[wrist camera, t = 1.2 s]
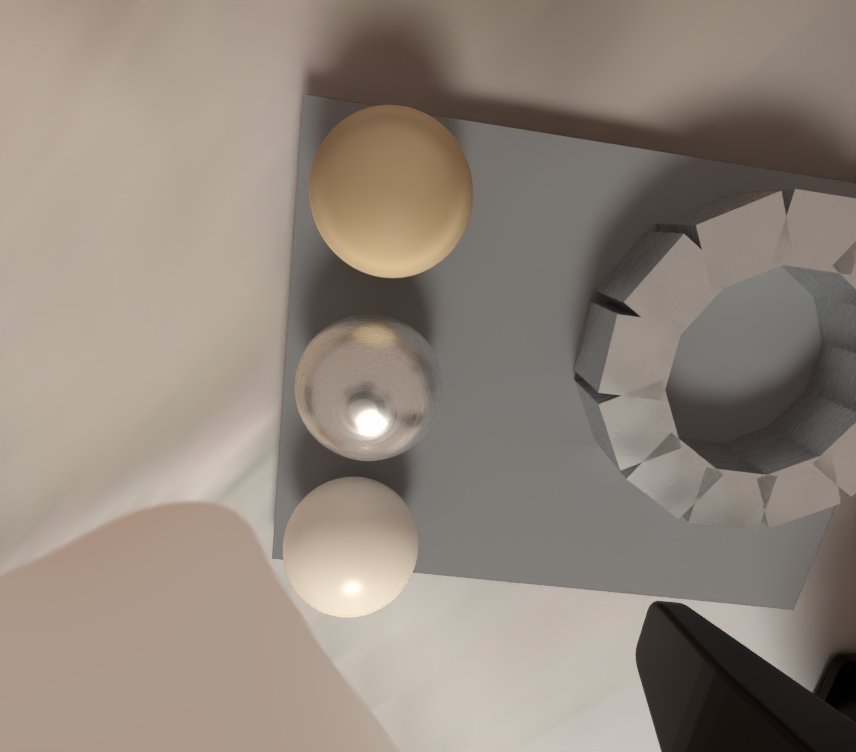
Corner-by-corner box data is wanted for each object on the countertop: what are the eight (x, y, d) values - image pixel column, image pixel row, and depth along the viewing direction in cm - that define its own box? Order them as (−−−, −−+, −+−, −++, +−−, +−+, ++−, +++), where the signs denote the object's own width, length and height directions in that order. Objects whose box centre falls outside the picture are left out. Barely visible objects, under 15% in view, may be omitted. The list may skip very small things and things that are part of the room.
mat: (774, 589, 23) (793, 609, 22) (279, 540, 21) (271, 558, 20) (924, 201, 18) (959, 199, 17) (310, 102, 17) (302, 94, 16)
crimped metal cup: (816, 503, 20) (870, 542, 18) (550, 473, 19) (569, 509, 17) (926, 221, 17) (1009, 222, 15) (618, 173, 16) (653, 166, 14)
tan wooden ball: (453, 278, 17) (467, 299, 13) (317, 259, 17) (286, 274, 13) (475, 132, 16) (498, 103, 12) (329, 109, 16) (299, 70, 11)
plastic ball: (409, 565, 20) (409, 656, 16) (293, 553, 20) (263, 643, 16) (425, 461, 19) (429, 531, 15) (302, 447, 19) (271, 515, 15)
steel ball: (429, 434, 19) (435, 496, 15) (304, 419, 18) (273, 479, 14) (447, 312, 18) (460, 342, 13) (314, 293, 17) (284, 319, 13)
